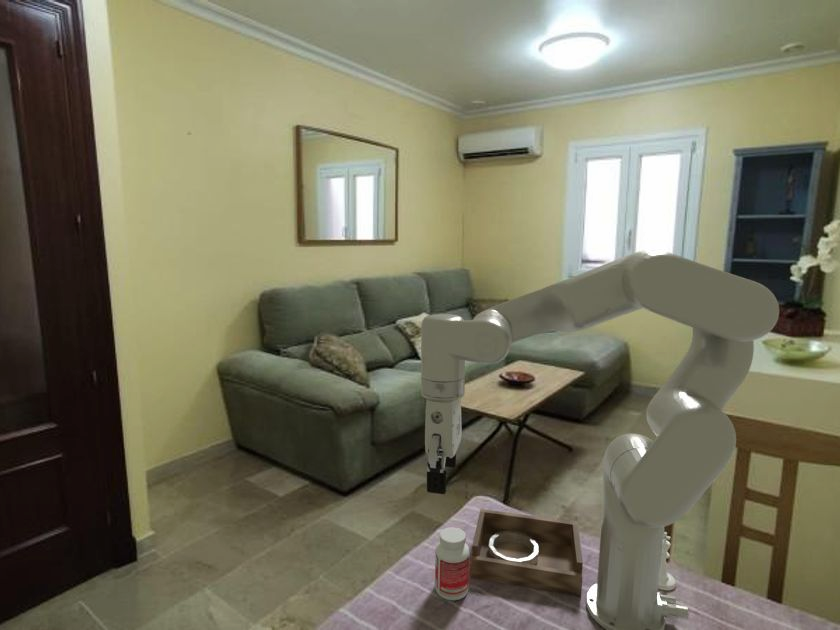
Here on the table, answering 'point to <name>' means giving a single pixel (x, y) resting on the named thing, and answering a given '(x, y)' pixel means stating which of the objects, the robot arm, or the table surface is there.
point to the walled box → (529, 553)
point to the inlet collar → (517, 538)
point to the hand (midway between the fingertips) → (442, 478)
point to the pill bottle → (452, 564)
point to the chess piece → (665, 578)
